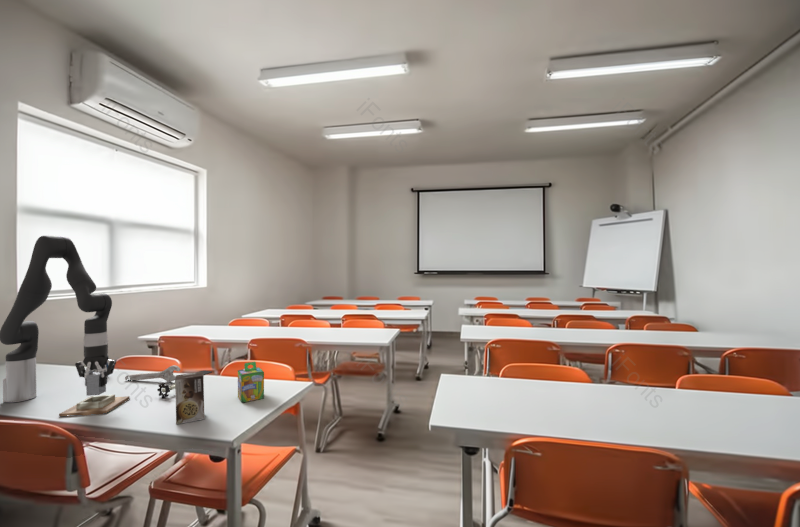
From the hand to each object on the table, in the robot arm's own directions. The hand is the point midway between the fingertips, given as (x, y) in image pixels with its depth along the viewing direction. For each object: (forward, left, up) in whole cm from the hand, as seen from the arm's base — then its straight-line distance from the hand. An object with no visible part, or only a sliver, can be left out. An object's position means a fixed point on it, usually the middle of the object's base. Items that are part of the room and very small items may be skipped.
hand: (96, 386), depth 149 cm
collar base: (0, 0, -8) cm, 8 cm away
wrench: (+6, +33, -9) cm, 35 cm away
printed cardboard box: (+42, -20, -9) cm, 47 cm away
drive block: (0, 0, -3) cm, 3 cm away
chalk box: (+59, -1, -9) cm, 60 cm away
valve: (+25, +12, -9) cm, 29 cm away
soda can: (-25, +47, -9) cm, 54 cm away
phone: (+23, +40, -9) cm, 47 cm away
